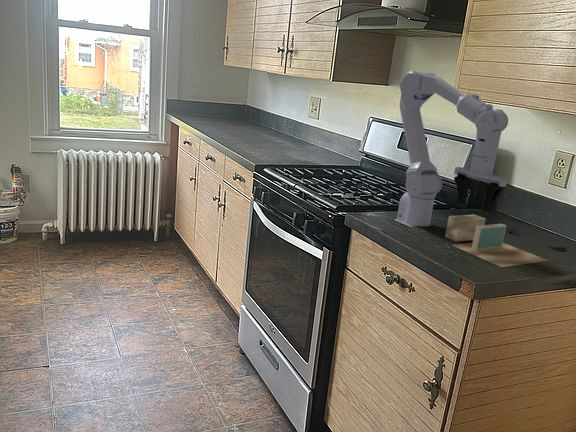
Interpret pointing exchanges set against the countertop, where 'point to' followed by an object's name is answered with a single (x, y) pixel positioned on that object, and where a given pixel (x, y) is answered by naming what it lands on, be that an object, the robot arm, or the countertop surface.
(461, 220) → the tan mottled block
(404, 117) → the robot arm
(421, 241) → the countertop surface
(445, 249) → the countertop surface
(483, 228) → the tile
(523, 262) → the cork mat
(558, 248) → the bracket
